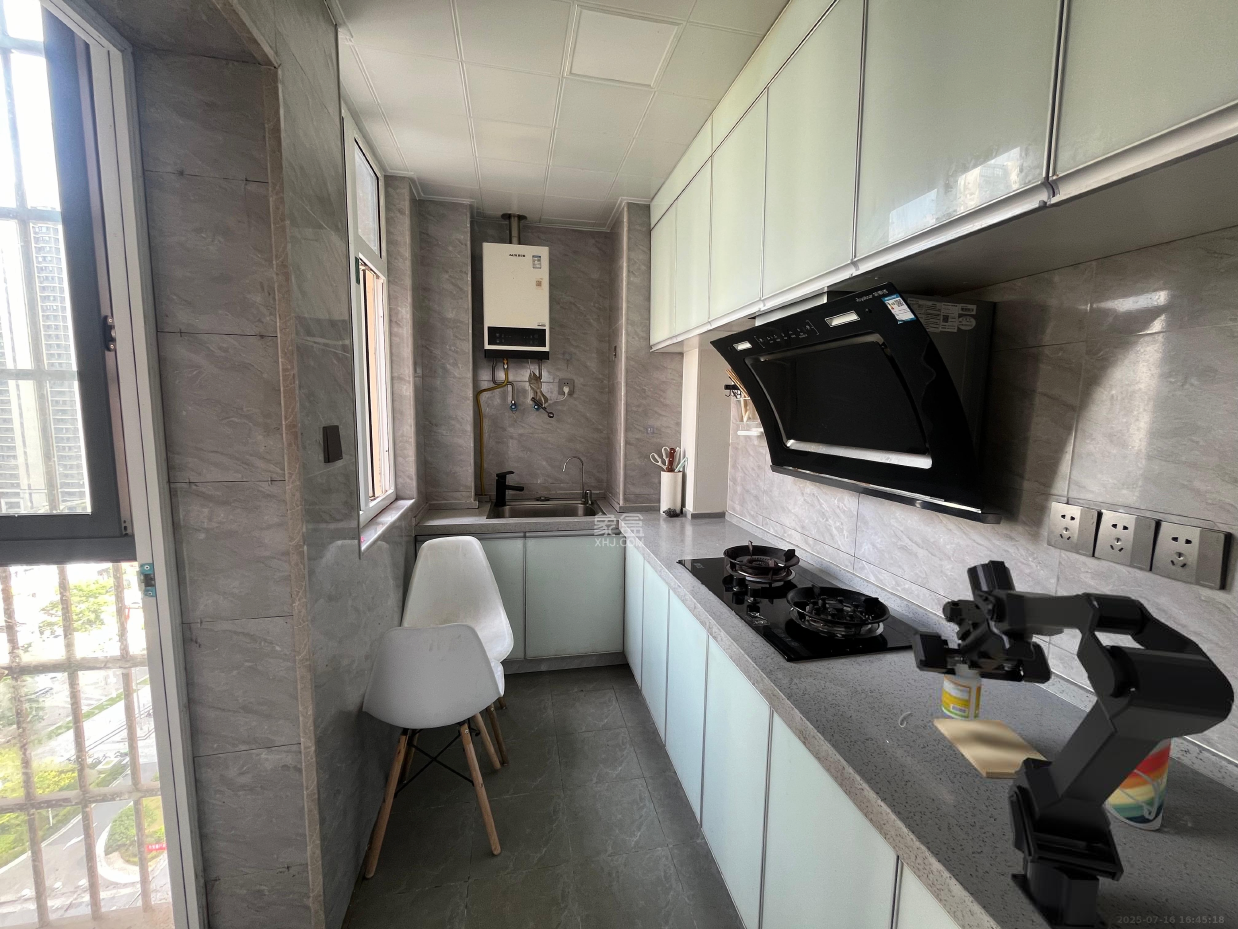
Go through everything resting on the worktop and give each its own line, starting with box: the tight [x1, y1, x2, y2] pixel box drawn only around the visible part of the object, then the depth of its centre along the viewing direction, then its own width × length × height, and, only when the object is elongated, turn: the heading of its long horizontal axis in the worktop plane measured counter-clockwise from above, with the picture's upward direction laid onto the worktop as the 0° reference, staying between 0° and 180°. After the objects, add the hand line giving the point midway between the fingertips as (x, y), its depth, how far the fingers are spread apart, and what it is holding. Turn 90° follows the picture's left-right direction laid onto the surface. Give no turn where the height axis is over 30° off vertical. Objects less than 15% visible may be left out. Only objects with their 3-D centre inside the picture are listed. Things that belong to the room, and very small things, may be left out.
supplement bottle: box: [941, 658, 983, 721], centre depth 88 cm, size 5×5×10 cm
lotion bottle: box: [1104, 738, 1173, 831], centre depth 72 cm, size 6×6×20 cm
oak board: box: [933, 718, 1047, 779], centre depth 87 cm, size 14×12×1 cm
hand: (959, 673), depth 89 cm, fingers closed on supplement bottle, 5 cm apart
